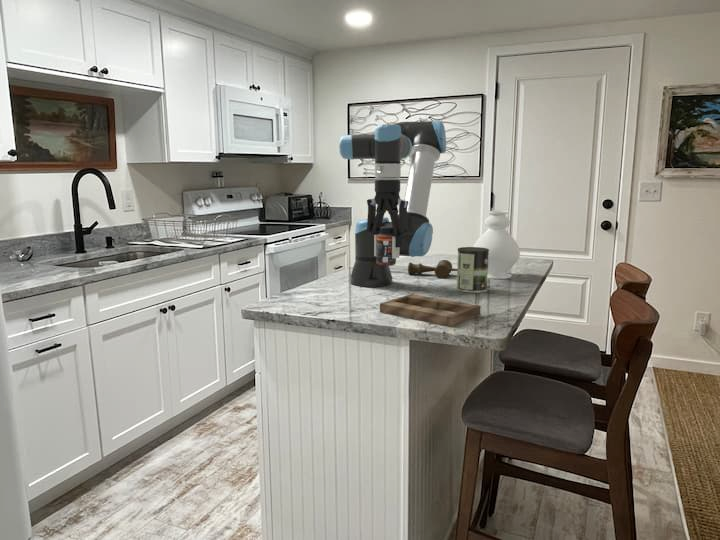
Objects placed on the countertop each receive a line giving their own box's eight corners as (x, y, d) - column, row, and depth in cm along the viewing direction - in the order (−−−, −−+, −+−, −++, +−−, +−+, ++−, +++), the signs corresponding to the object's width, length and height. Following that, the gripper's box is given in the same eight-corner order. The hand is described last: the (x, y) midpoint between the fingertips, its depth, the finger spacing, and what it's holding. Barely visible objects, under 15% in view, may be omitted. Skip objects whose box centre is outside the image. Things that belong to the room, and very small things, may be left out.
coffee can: (486, 287, 183) (488, 247, 181) (487, 293, 174) (489, 251, 171) (456, 286, 185) (458, 246, 183) (455, 292, 176) (457, 250, 173)
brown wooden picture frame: (379, 311, 149) (379, 303, 149) (411, 301, 162) (411, 293, 161) (451, 326, 135) (452, 317, 135) (480, 314, 148) (480, 305, 147)
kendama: (410, 273, 212) (461, 275, 207) (406, 278, 203) (458, 280, 198) (410, 258, 211) (461, 259, 205) (405, 263, 202) (458, 264, 196)
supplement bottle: (389, 266, 156) (390, 228, 154) (372, 264, 159) (373, 227, 157) (399, 264, 161) (400, 227, 159) (382, 262, 164) (383, 225, 162)
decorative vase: (490, 281, 193) (493, 213, 189) (462, 273, 209) (464, 210, 205) (528, 278, 200) (532, 212, 196) (498, 270, 216) (501, 209, 212)
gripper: (354, 178, 158) (354, 255, 162) (407, 179, 146) (405, 261, 151) (369, 178, 164) (369, 252, 168) (421, 179, 152) (420, 258, 156)
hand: (386, 256), depth 159 cm, fingers closed on supplement bottle, 6 cm apart
